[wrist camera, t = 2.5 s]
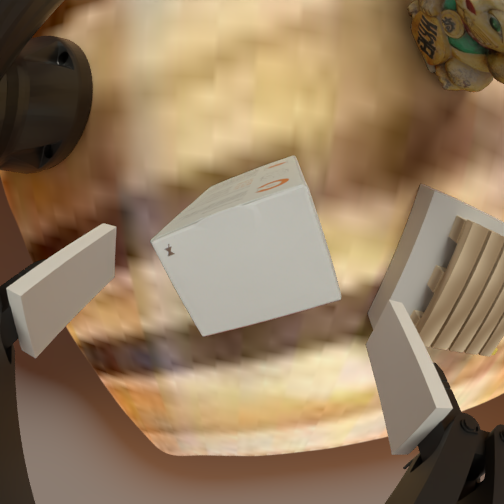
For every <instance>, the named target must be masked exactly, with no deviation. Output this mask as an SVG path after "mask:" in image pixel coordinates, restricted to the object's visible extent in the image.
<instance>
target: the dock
mask: <svg viewBox="0 0 504 504" xmlns="http://www.w3.org/2000/svg"><path fill="white" fill-rule="evenodd" d="M456 215H457V216H460V217H462V218H464V219H466V220H467V219H468V220H471V221H473V222H475V223H477V224H479V225H481V226H483V227H485V228H488V229H490V230H492V231H494V232H496V233H498V234H500V235H501V236H504V222H502V221H500V220H498V219H497V218H495V217H493V216H491V215H489V214H487V213H485V212H483V211H481V210H479V209H477V208H475V207H473V206H471V205H469V204H466V203H464V202H462V201H460V200H458V199H456V198H454V197H451V196H449V195H447V194H445V193H442V192H440V191H438V190H436V189H433V188H431V187H429V186H426V185H424V184H420V187H419V190H418V193H417V196H416V199H415V202H414V205H413V207H412V210H411V213H410V216H409V218H408V221H407V224H406V226H405V229H404V232H403V234H402V237H401V239H400V242H399V244H398V247H397V249H396V252H395V254H394V256H393V259H392V261H391V263H390V266H389V268H388V270H387V273H386V275H385V277H384V279H383V282H382V284H381V286H380V288H379V290H378V293H377V295H376V297H375V299H374V301H373V303H372V305H371V307H370V309H369V311H368V313H367V314H368V316H369V319H370V322H371V325H372V328H373V330H374V328H375V326H376V324H377V322H378V320H379V318H380V316H381V314H382V312H383V310H384V308H385V306H386V304H387V302H388V300H393V301H397V302H401V303H403V305H404V307H405V309H406V311H407V313H408V314H409V316H411V314H412V312H413V311H414V310H418V311H422V312H425V310H426V309H427V307H428V305H429V303H430V301H431V299H432V297H433V295H434V293H433V292H432V290H431V289H430V288H429V286H428V285H427V283H428V281H429V279H430V277H431V275H432V273H433V270H434V268H435V266H436V265H438V266H441V267H444V268H447V266H448V264H449V262H450V260H451V258H452V255H453V253H454V251H455V248H456V246H457V244H458V243H456V242H455V241H453V240H452V239H451V238H450V237H449V233H450V231H451V228H452V226H453V223H454V221H455V218H456ZM497 350H498V349H497V348H495V350H494V351H493V353H492V354H491V355H495V353H496V352H497Z"/></svg>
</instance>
